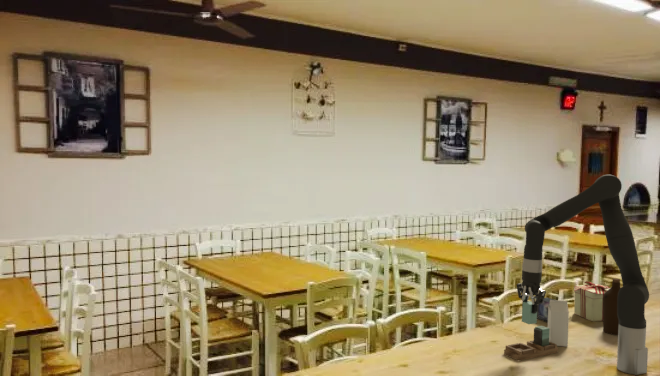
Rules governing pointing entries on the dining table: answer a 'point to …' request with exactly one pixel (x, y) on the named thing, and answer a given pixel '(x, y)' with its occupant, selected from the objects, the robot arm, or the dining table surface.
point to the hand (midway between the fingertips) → (529, 311)
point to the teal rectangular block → (529, 313)
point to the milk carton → (558, 322)
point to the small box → (544, 309)
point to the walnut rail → (532, 346)
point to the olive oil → (611, 308)
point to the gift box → (589, 301)
